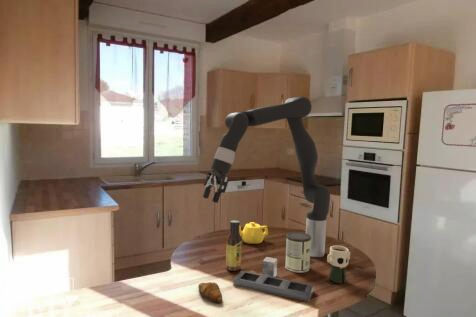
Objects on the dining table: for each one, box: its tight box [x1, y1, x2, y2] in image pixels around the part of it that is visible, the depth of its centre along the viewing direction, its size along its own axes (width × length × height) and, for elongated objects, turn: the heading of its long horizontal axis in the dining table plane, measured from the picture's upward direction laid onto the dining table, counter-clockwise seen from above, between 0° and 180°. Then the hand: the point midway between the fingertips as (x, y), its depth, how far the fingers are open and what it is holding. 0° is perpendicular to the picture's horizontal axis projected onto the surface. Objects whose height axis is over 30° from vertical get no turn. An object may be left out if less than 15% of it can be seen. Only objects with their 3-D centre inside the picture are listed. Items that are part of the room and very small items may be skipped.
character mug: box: [326, 245, 351, 284], centre depth 130 cm, size 11×7×13 cm, turn 113°
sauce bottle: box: [225, 219, 243, 272], centre depth 138 cm, size 7×6×20 cm
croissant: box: [197, 282, 223, 304], centre depth 115 cm, size 14×7×5 cm, turn 37°
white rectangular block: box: [261, 256, 278, 278], centre depth 132 cm, size 4×4×7 cm
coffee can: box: [284, 231, 311, 274], centre depth 142 cm, size 10×10×14 cm
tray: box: [232, 270, 314, 302], centre depth 122 cm, size 8×28×2 cm, turn 68°
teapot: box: [239, 221, 269, 245], centre depth 174 cm, size 14×13×10 cm
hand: (209, 200), depth 130 cm, fingers open, 8 cm apart
